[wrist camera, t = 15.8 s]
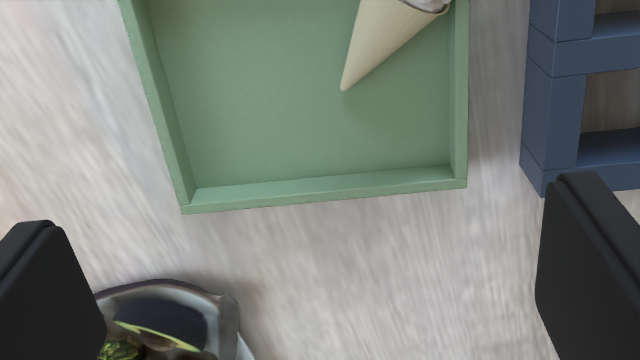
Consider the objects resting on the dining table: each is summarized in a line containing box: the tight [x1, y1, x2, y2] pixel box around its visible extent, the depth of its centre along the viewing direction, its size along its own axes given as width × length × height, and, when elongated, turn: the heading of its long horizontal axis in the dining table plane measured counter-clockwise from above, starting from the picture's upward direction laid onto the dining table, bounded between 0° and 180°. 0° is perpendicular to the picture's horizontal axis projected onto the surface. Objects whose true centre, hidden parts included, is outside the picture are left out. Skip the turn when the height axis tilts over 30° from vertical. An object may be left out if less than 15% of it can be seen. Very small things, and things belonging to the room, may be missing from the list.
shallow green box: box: [117, 0, 470, 215], centre depth 34 cm, size 18×20×3 cm
